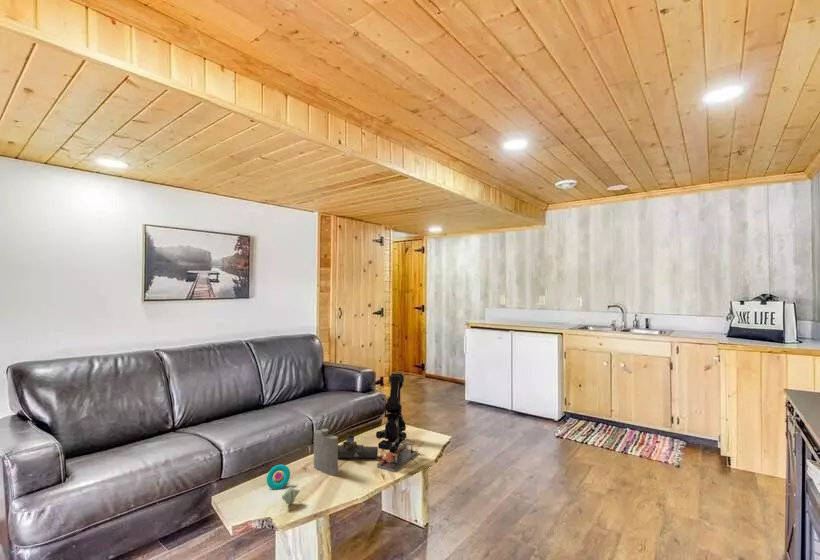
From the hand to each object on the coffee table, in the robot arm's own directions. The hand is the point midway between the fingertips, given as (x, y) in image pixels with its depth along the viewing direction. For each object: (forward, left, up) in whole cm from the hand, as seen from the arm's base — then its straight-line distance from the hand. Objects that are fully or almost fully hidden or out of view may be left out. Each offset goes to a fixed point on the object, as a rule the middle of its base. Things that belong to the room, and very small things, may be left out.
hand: (392, 456), depth 207 cm
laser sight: (+4, -20, -3) cm, 21 cm away
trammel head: (+3, 0, -1) cm, 3 cm away
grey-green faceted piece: (+54, -17, -3) cm, 56 cm away
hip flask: (+24, -24, -3) cm, 34 cm away
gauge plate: (-3, +1, -3) cm, 4 cm away
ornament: (+45, -33, -3) cm, 56 cm away
